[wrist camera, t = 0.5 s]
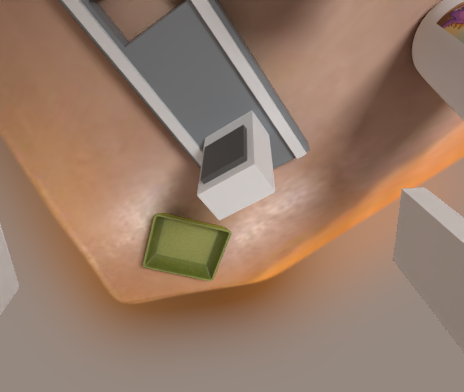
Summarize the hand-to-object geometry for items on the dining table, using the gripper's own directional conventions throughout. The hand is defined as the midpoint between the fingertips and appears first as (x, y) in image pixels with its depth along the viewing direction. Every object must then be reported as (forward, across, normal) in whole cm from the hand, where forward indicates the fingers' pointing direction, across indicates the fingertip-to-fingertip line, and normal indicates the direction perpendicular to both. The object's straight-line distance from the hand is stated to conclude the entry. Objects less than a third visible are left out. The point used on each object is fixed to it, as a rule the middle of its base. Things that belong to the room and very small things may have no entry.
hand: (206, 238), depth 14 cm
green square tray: (+32, -3, -17) cm, 36 cm away
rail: (+26, -1, +2) cm, 26 cm away
